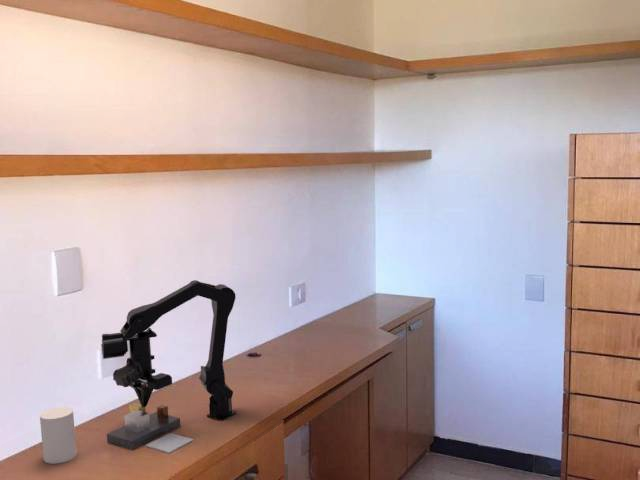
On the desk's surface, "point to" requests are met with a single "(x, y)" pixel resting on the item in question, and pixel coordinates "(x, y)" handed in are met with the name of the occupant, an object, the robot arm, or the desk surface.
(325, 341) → the desk surface
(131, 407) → the block
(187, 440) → the felt mat
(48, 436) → the cup
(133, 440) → the dark grey base plate
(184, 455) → the desk surface
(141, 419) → the light grey block
